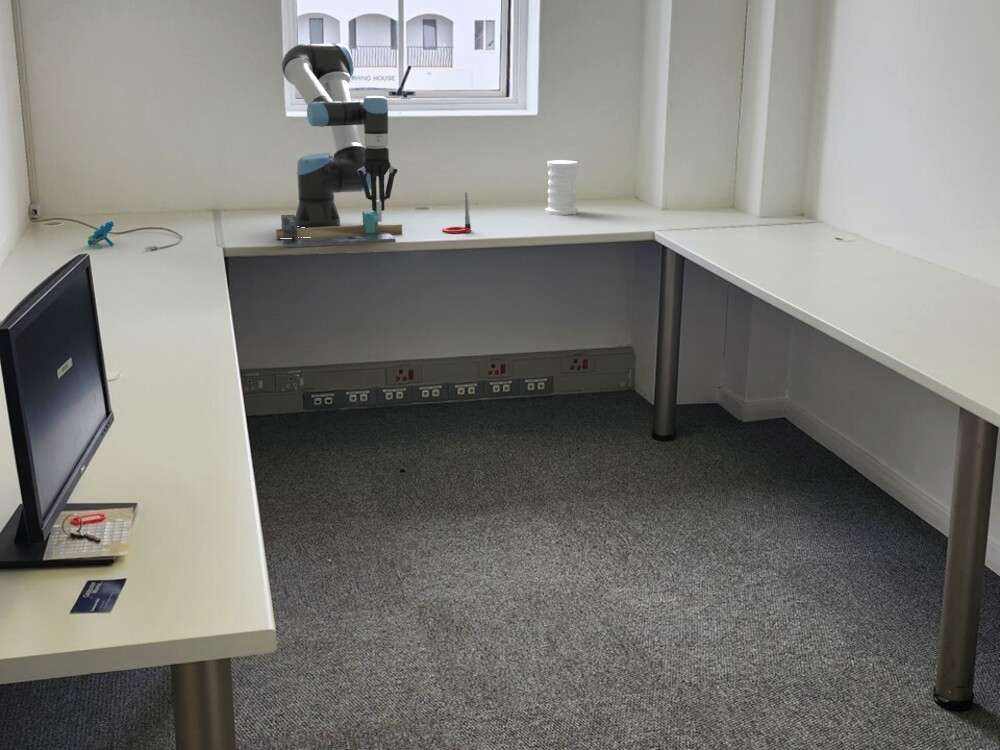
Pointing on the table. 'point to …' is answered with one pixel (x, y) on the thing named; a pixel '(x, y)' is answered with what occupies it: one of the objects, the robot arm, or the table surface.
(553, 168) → the decorative container
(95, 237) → the blue blocky piece
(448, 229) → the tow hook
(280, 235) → the gauge rail
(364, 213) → the sliding jaw
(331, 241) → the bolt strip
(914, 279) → the table surface
